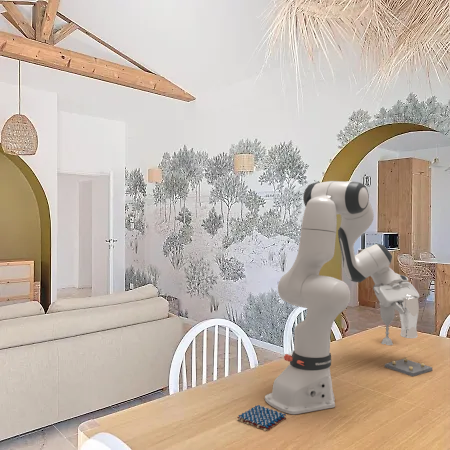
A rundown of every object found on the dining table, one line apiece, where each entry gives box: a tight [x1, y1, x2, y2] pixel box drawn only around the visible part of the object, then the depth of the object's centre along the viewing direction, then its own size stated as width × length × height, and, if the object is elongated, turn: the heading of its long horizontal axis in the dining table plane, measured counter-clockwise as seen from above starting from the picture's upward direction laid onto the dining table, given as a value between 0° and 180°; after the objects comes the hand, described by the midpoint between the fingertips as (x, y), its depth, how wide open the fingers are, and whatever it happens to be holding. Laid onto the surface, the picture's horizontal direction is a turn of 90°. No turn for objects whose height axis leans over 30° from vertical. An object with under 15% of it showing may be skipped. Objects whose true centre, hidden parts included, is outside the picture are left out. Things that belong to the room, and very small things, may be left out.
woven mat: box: [237, 404, 287, 432], centre depth 124 cm, size 10×11×2 cm
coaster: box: [384, 357, 433, 377], centre depth 167 cm, size 12×12×2 cm
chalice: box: [378, 302, 396, 346], centre depth 200 cm, size 7×7×18 cm
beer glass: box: [398, 295, 420, 339], centre depth 167 cm, size 7×7×15 cm
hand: (410, 312), depth 166 cm, fingers closed on beer glass, 7 cm apart
